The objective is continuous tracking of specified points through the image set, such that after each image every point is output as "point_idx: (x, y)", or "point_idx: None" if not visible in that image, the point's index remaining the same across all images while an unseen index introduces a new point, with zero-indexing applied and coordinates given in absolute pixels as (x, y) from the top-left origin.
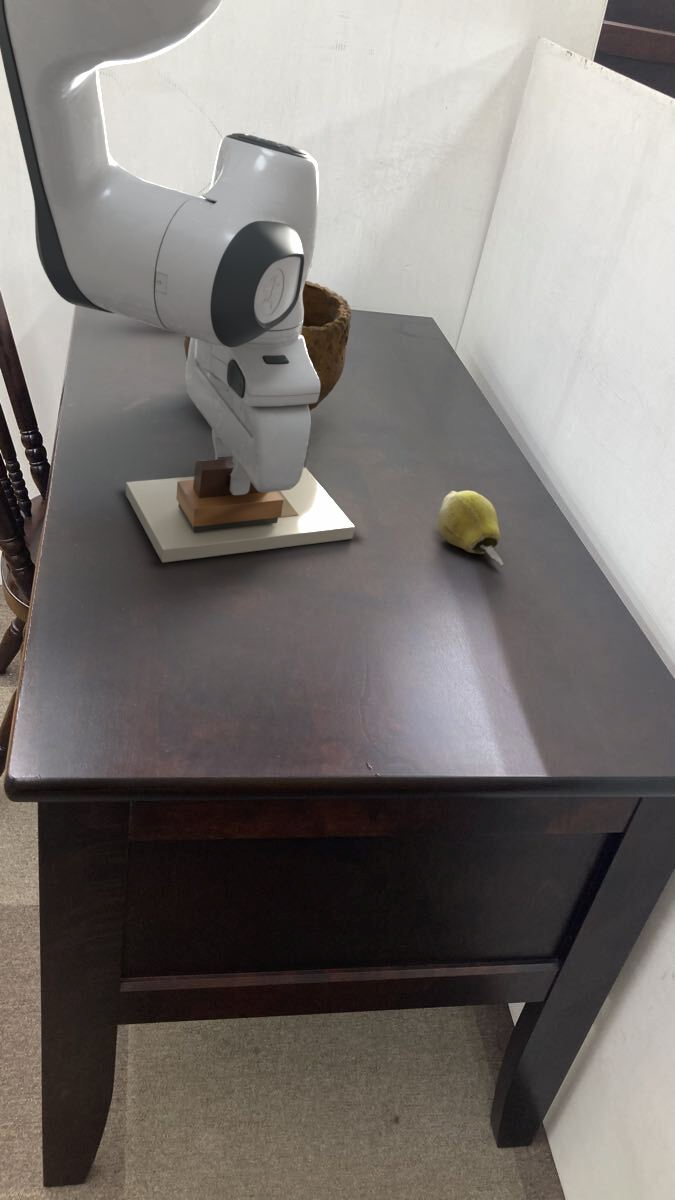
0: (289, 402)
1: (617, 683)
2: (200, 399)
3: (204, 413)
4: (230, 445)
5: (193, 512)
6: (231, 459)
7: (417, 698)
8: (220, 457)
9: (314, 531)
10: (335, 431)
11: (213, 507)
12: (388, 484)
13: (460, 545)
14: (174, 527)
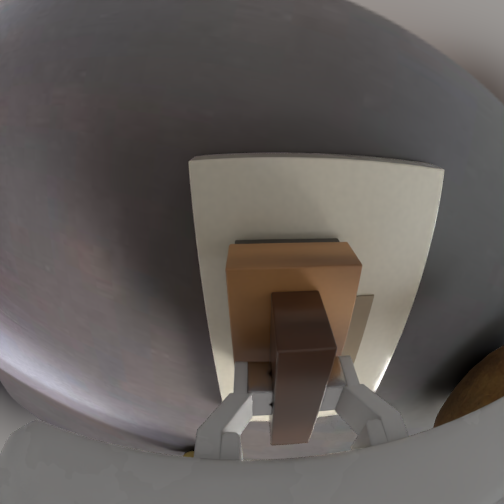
0: None
1: (64, 428)
2: (472, 449)
3: (435, 444)
4: (198, 486)
5: (232, 261)
6: (313, 409)
7: (8, 340)
8: (342, 390)
9: (220, 392)
10: (415, 419)
11: (229, 308)
12: (317, 441)
13: (192, 453)
14: (268, 207)
